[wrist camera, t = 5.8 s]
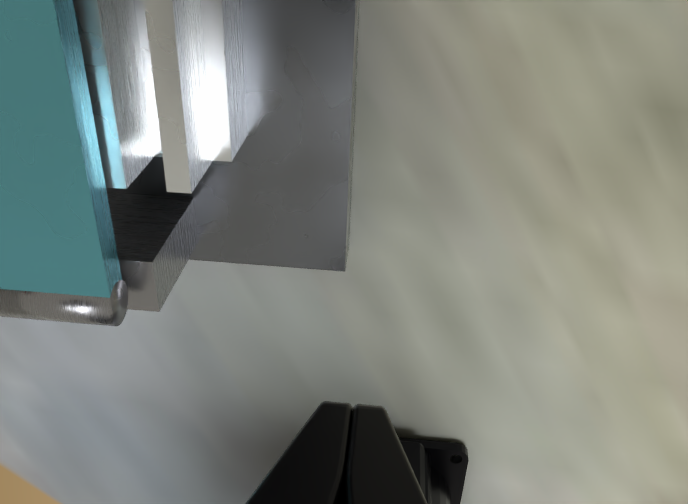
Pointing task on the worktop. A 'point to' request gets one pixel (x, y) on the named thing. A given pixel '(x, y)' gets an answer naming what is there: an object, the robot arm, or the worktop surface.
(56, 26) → the bar
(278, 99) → the heat sink base
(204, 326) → the worktop surface
